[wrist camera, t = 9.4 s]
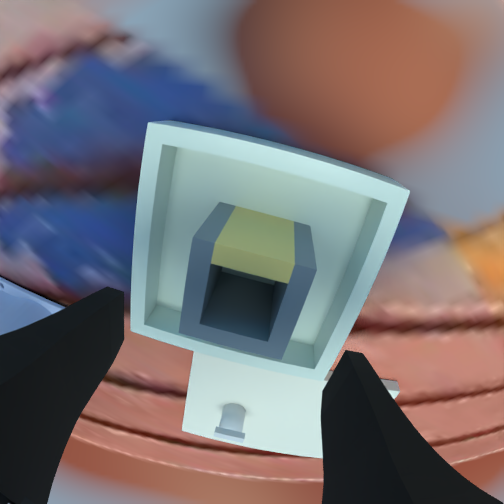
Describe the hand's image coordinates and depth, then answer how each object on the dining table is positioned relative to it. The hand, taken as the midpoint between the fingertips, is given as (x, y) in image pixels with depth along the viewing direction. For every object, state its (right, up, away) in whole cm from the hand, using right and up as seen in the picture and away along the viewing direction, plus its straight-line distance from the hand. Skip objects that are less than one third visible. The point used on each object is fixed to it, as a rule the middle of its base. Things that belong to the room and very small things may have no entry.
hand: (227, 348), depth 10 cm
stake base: (+3, -9, +12) cm, 15 cm away
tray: (+1, +3, +7) cm, 8 cm away
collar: (+1, +3, +6) cm, 7 cm away
